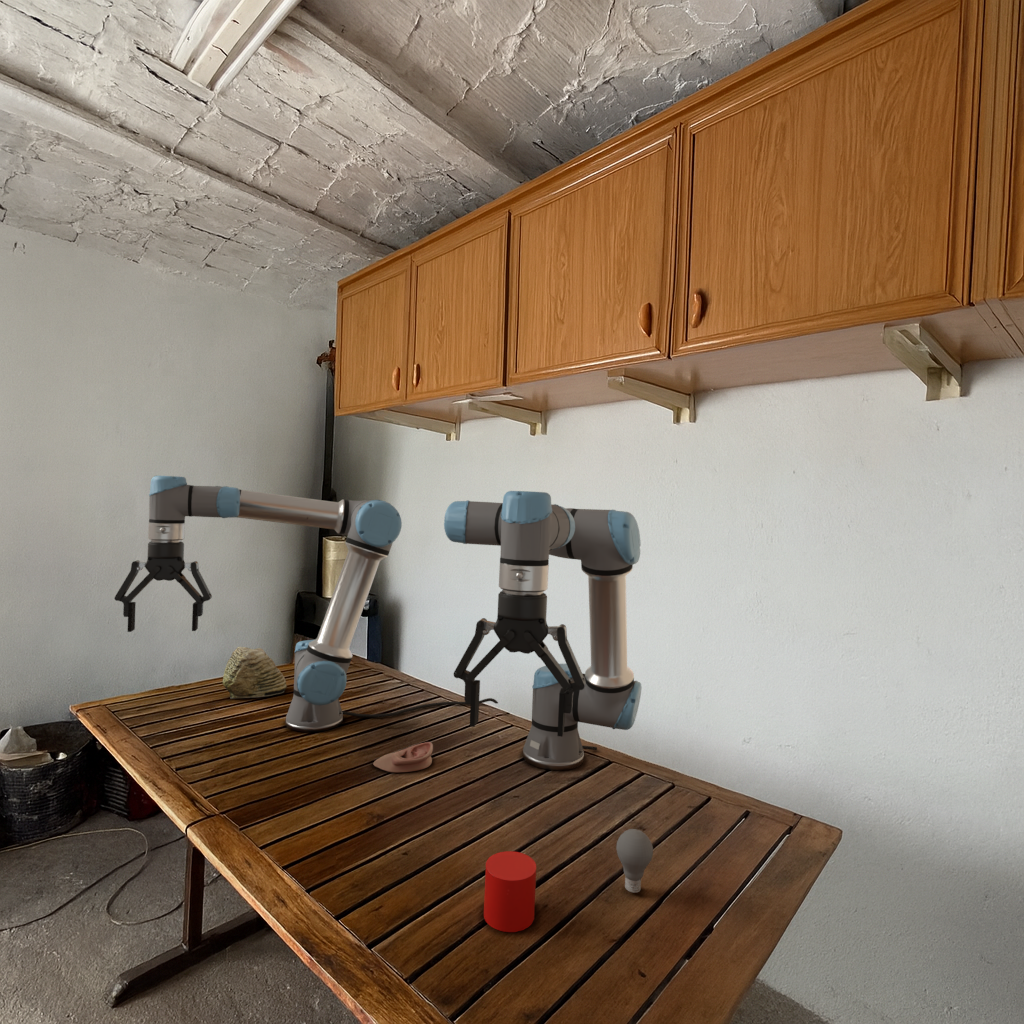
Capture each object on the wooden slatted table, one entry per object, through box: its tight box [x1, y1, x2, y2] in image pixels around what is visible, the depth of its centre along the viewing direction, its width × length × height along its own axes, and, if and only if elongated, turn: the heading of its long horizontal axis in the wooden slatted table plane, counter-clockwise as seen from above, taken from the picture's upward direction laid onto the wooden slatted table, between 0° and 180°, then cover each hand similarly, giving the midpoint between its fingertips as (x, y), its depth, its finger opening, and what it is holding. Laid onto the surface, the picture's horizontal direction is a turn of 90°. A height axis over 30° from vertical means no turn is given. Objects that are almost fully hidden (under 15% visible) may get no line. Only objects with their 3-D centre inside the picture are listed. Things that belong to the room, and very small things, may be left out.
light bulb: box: [615, 828, 654, 894], centre depth 106 cm, size 6×6×10 cm
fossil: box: [222, 646, 288, 699], centre depth 198 cm, size 9×18×15 cm, turn 132°
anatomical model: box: [372, 741, 434, 773], centre depth 152 cm, size 13×4×12 cm
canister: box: [483, 850, 537, 933], centre depth 98 cm, size 8×8×8 cm
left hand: (163, 630), depth 150 cm, fingers open, 13 cm apart
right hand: (516, 728), depth 98 cm, fingers open, 13 cm apart
